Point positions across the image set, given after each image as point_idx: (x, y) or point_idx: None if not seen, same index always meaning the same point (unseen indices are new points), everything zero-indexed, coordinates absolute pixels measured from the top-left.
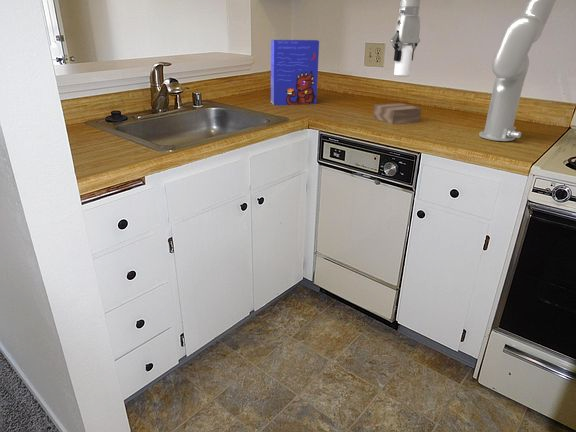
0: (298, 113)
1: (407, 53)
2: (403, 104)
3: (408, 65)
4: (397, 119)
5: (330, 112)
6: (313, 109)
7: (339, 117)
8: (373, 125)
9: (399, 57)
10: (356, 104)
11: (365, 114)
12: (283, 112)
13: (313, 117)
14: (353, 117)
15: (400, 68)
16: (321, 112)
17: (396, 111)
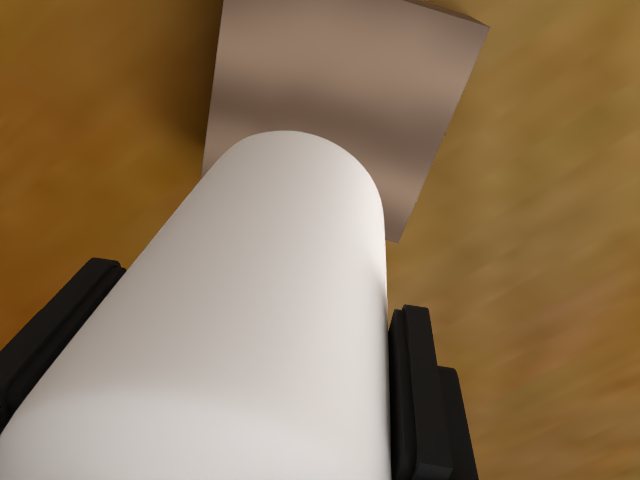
0: (582, 432)
1: (300, 330)
2: (226, 139)
3: (282, 182)
4: (439, 8)
5: None
6: None
7: (527, 301)
8: (592, 70)
9: (433, 353)
10: None
11: None
12: (607, 467)
13: (618, 361)
14: (473, 264)
15: (380, 231)
16: (487, 397)
17: (465, 19)
